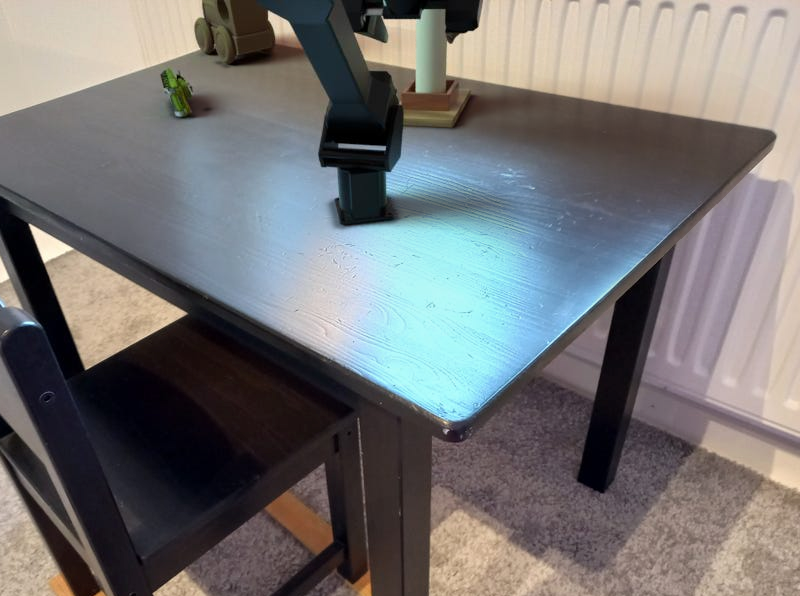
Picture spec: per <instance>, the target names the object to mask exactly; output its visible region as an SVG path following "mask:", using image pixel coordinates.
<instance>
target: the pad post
mask: <svg viewBox="0 0 800 596" xmlns="http://www.w3.org/2000/svg"><path fill="white" fill-rule="evenodd" d="M445 10H446V9H424V10H423V11H422V15H421V19H415V78H416V93H446V79H447V61H448V60H447V58H448V56H447V54H448V53H447V52H448V41H447V38H446V34H445V29H446V25H445Z"/></svg>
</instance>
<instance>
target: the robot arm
mask: <svg viewBox="0 0 800 596" xmlns="http://www.w3.org/2000/svg"><path fill="white" fill-rule="evenodd" d="M256 2H257V3H258V4H259V5H260V6H261V7H262V8H264V9H266V10H268V12H270V13H272V14H274V15H275V16H277V17H280V19H281V18H282V19H283V20H285V21H287V22H288V23H289V25H290V27H291V29H292V31H293V33H294V35H295V36H296V38H297V40H298V42H299V44H300V47H301V48H302V50H303V52H304V53H305V56H306V58H307V59H308V61H309V63H310V65H311V68H312V69H313V71H314V72H315V75H316V77H317V78H318V80H319V82H320V84H321V86H322V88H323V89H324V92H325V94H326V96H327V97H328V99H329V101H328V105H327V107H326V110H325V114H324V116H323V123H322V130H321V135H320V142H319V147H318V152H317V156H318V161H319V165H320V167H321V168H325V169H326V168H336V171H337V187H338V197H335V198H334V207H335V211H336V214H337V219H338V223H339V225H351V224H359V223H361V224H362V223H368V222H377V221H384V220H385V221H386V220H393V219H394V216H395V215H394V211H393V208H392V205H391V203H390V201H389V197H388V195H387V192H388V191H387V173H391V172H392V171H393V169H394V168H395V166H396V165H397V163H398V162H399V161H400V159H401V157H402V147H403V146H402V145H403V133H404V125H403V122H404V111H403V106H402V105H401V104H399V101H400V100H399V98H398V96H397V94H398V89H397V88H396V87H395V84H394V81H393V76H392V75H391V73H390V72H389V71H387V70H369V69H370V68H369V67H368V65H367V62H366V60H365V56H364V54H363V52H362V49H361V47H360V43H359V42H358V39H357V36H356V34H357V35H360V36H362V37H363V36H364V37H366V38H370V39H373V40H376V41H378V42H380V43H383V44H388V40H389V32H388V29H387V26H386V24H385V21H384V20H416V19H421V15H422V11H423V10H424V9H446V10H445V25H446V29H445V34H446V38H447V44H449V45H452V44H453V43H454V41H455V39H456V38H457V37H458V36H459V35H461V34H462V35H465V34H467V33H468V32H474V31H476V30H477V29H479V27H480V21H481V15H482V10H483V5H484V4H483V3H484V0H256ZM339 144H341V145H355V146H356V145H357V146H373V147H375V146H376V147H385V149H384V150H383V149H371V148H370V149H367V148H354V147H353V148H352V147H339Z"/></svg>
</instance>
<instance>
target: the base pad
mask: <svg viewBox="0 0 800 596" xmlns="http://www.w3.org/2000/svg"><path fill="white" fill-rule="evenodd" d="M471 91H472V90H471V88H460V79H459V78H446V93H416V77H412V78H411V81H409V83H408V84H407V85H406V86H405V88H404V89H403V91H402V92H401V94H400V98H401V99H400V100H399V104H401V105H402V106H403V111H404V122H403V126H409V127H412V126H414V127H430V128H433V127H435V128H449V129H450V128H451V129H452V128H453V127H454V125H455V124H456V122H457V120H458V119H459V117H460V115H461V114H462V112H463V110H464V108H465V106H466V105H467V103H468V101H469V99H470V98H471V94H472V93H471Z"/></svg>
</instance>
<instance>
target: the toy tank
mask: <svg viewBox="0 0 800 596" xmlns="http://www.w3.org/2000/svg"><path fill="white" fill-rule="evenodd" d="M177 72H178V73H176V76H175V74H174V71H173V70H172V69H171V68H169V67H167V68H165V70H163V71H162V72H161V73H160V74H159V76H160V79H161V82H162V83H161V84H162V88H163V91H164V93H165V94H167V95H169V100H170V103H171V107H172V111H173V113H174V116H175V117H180V118H182V117H187V116H189V114H192V113H193V112H192V109H191V107H190V104H189V103H188V101H189V100H192V99H191V98H192V97H193V96H192V93H194V89H193V86H192V85H191V84H190V82H186V79H185V77H184V76H182V75H181V71H180V70H178V71H177Z"/></svg>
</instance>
